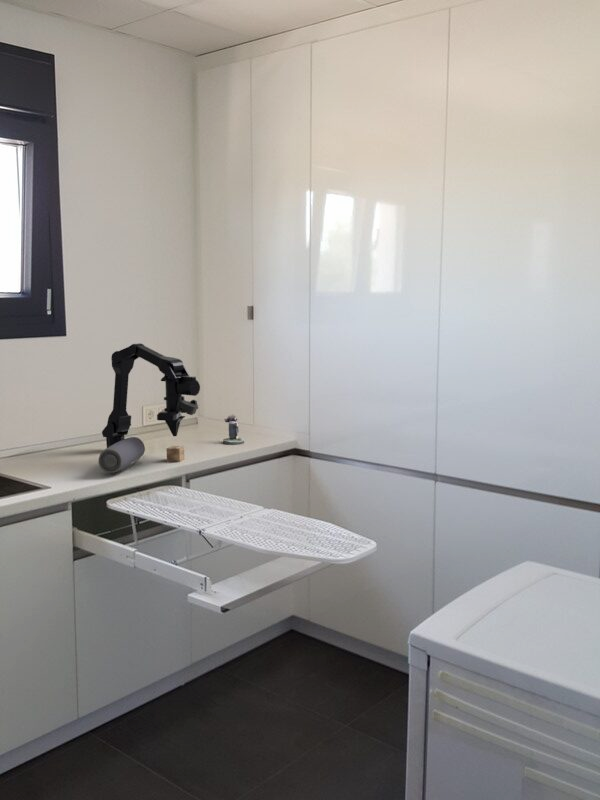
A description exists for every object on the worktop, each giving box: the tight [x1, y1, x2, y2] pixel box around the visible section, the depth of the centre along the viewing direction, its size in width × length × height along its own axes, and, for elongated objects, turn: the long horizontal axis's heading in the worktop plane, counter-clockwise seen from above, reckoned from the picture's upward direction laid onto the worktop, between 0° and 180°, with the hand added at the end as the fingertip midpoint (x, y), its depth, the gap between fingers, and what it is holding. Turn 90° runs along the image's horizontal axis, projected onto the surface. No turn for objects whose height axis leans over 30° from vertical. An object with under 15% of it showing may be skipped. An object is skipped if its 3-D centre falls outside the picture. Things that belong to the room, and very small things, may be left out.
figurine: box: [222, 414, 245, 446], centre depth 325 cm, size 8×8×12 cm
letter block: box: [165, 445, 186, 463], centre depth 293 cm, size 5×5×5 cm
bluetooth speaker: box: [98, 436, 146, 474], centre depth 279 cm, size 23×9×10 cm, turn 171°
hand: (175, 436), depth 292 cm, fingers closed
